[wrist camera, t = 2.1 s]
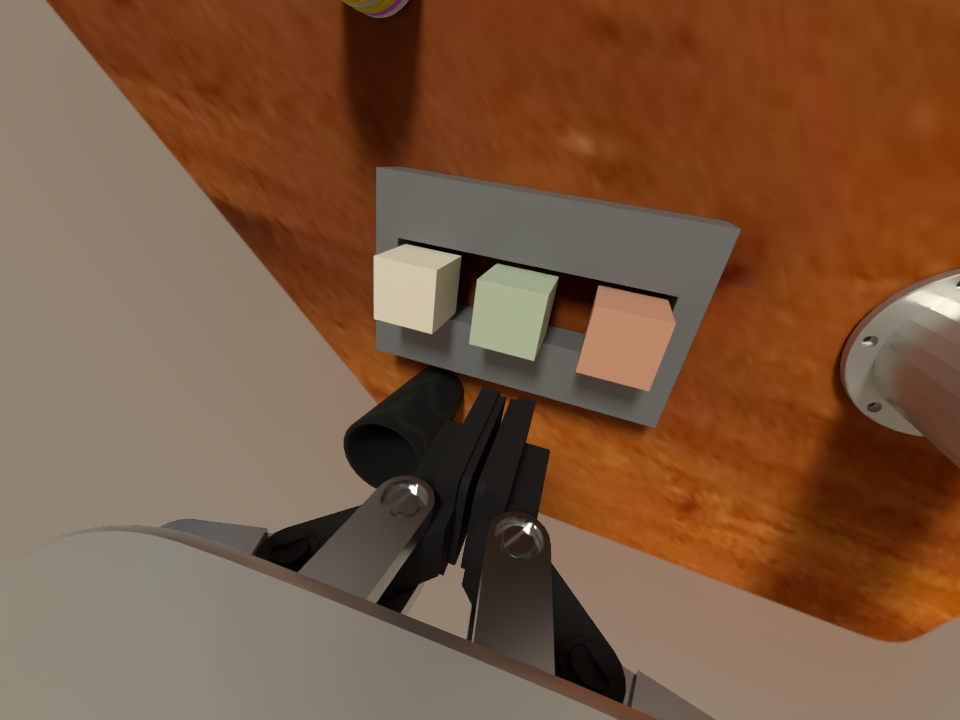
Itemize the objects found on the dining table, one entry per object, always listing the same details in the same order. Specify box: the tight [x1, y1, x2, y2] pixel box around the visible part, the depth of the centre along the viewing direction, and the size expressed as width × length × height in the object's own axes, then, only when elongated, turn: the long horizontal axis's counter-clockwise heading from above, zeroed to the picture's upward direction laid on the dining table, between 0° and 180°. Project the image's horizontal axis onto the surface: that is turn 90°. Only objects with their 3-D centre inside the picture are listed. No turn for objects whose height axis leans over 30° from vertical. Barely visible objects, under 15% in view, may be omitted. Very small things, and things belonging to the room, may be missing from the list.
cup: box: [344, 366, 464, 489], centre depth 38 cm, size 8×8×12 cm
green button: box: [469, 264, 559, 361], centre depth 30 cm, size 5×5×5 cm
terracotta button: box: [576, 285, 676, 391], centre depth 28 cm, size 5×5×5 cm
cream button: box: [374, 244, 462, 334], centre depth 32 cm, size 5×5×5 cm
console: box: [376, 167, 741, 428], centre depth 33 cm, size 26×16×4 cm, turn 83°
